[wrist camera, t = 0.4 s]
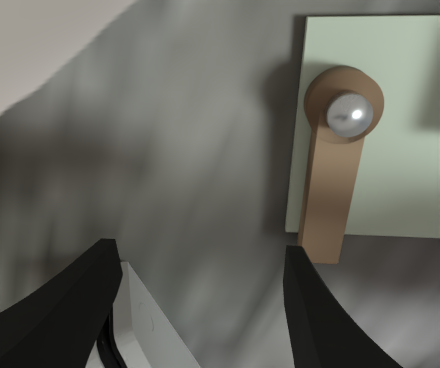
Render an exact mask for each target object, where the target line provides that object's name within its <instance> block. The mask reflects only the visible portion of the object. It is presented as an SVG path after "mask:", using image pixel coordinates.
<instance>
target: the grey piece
mask: <svg viewBox="0 0 440 368" xmlns="http://www.w3.org/2000/svg"><path fill="white" fill-rule="evenodd" d="M120 263H121V267H122V271H123V277H122V280H121V284H120V287H119V290H118V293H117V296H116V298H115V301H114V303H113V305H112V307H111V310H110V312H109V314H108V316H107V318H106V320H105V323H104V325H103V327H102V329H101V331H100V333H99V335H98V338H97V340H96V342H95V344H94V346H93V349H92V351H91V354H90V356H89V359H88V362H87V364H86V367H85V368H201V367H200V366H199V364H198V363H197V361H196V360H195V358H194V357H193V355H192V354H191V353H190V351H189V350H188V348H187V347H186V345H185V344H184V342H183V341H182V339H181V338H180V337H179V335H178V334H177V332H176V331H175V329H174V328H173V326H172V325H171V324H170V322H169V321H168V319H167V318H166V316H165V315H164V313H163V312H162V310H161V309H160V308H159V306H158V305H157V303H156V302H155V300H154V299H153V297H152V296H151V294H150V293H149V292H148V290H147V289H146V287H145V286H144V284H143V283H142V281H141V280H140V279H139V277H138V276H137V274H136V273H135V271H134V270H133V268H132V267H131V265H130V264H129V263H128V261H124V262H120Z"/></svg>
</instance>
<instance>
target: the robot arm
mask: <svg viewBox="0 0 440 368" xmlns="http://www.w3.org/2000/svg"><path fill="white" fill-rule="evenodd" d="M122 277H123V271H122V267H121V263H120V258H119V254H118V250H117V245H116V241H115V239H100V240H99V241H98V242H96V243H95V244H94V245H93V246H92V247H90V248H89V249H88V250H87V251H86V252H85V253H83V254H82V255H81V256H80V257H79V258H77V259H76V260H75V261H74V262H73V263H71V264H70V265H69V266H68V267H66V268H65V269H64V270H63V271H62V272H60V273H59V274H58V275H56V276H55V277H54V278H52V279H51V280H50V281H48V282H47V283H46V284H44V285H43V286H42V287H40V288H39V289H37V290H36V291H35V292H33V293H32V294H30V295H29V296H27V297H26V298H24V299H22V300H21V301H19V302H18V303H16V304H15V305H13V306H11V307H9V308H8V309H6V310H4V311H2V312H1V313H0V368H85V367H86V364H87V362H88V359H89V356H90V354H91V351H92V349H93V346H94V344H95V342H96V340H97V338H98V335H99V333H100V331H101V329H102V327H103V325H104V323H105V320H106V318H107V316H108V314H109V312H110V310H111V307H112V305H113V303H114V301H115V298H116V296H117V293H118V290H119V287H120V284H121V280H122ZM283 291H284V306H285V312H286V318H287V324H288V329H289V335H290V341H291V347H292V352H293V358H294V365H295V368H403V367H402V366H400V365H399V364H398V363H397V362H396V361H395V360H393V359H392V358H391V357H390V356H389V355H388V354H386V353H385V352H384V351H383V350H382V349H381V348H380V347H379V346H378V345H377V344H376V343H375V342H374V341H373V340H372V339H371V338H370V337H369V336H368V335H367V334H366V333H365V332H364V331H363V330H362V329H361V328H360V327H359V326H358V325H357V324H356V323H355V322H354V320H353V319H352V318H351V317H350V316H349V315H348V314H347V312H346V311H345V310H344V309H343V308H342V306H341V305H340V304H339V303H338V301H337V300H336V299H335V297H334V296H333V295H332V293H331V292H330V290H329V289H328V288H327V286H326V285H325V283H324V282H323V280H322V279H321V277H320V276H319V274H318V272H317V271H316V269H315V268H314V266H313V264H312V262H311V261H310V259H309V257H308V255H307V253H306V251H305V249H304V248H303V247H302V246H288V245H286V256H285V266H284V276H283Z"/></svg>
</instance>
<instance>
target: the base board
mask: <svg viewBox="0 0 440 368" xmlns="http://www.w3.org/2000/svg"><path fill="white" fill-rule="evenodd" d="M337 66H351V67H355V68H357V69H359V70H361V71H362V72H364V73H365V74H366V75H368V76H369V77H370V78H372V79H373V80H374V81H375V82H376V83H377V84H378V85H379V86H380V88H381V90H382V92H383V96H384V111H383V114H382V117H381V119H380V121H379V123H378V124H377V126H376V127H375V128H374V129H373V130H372V131H371V132H370V133H369V134H368V135H367V136H365V140H364V144H363V149H362V154H361V158H360V163H359V168H358V172H357V177H356V182H355V186H354V191H353V196H352V200H351V205H350V210H349V214H348V219H347V224H346V228H345V233H344V234H349V235H374V236H399V237H424V238H440V15H381V16H306V24H305V34H304V44H303V54H302V64H301V74H300V84H299V93H298V103H297V113H296V123H295V133H294V143H293V153H292V163H291V173H290V182H289V192H288V202H287V212H286V222H285V230H286V232H299V224H300V216H301V208H302V200H303V192H304V184H305V177H306V169H307V161H308V153H309V145H310V137H311V127H310V125H309V122H308V120H307V117H306V115H305V112H304V96H305V93H306V91H307V88H308V87H309V85H310V83H311V82H312V81H313V80H314V79H315V78H316V77H317V76H318V75H319V74H320V73H322V72H324V71H325V70H327V69H330V68H333V67H337Z"/></svg>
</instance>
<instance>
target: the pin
mask: <svg viewBox="0 0 440 368" xmlns="http://www.w3.org/2000/svg"><path fill="white" fill-rule="evenodd" d="M372 118H373V108H372V106H371V104H370V102H369V101H368V100H367V99H366V98H365V97H364V96H363V95H361V94H360V93H358V92H356V91H350V90H349V91H343V92H340V93H338V94H336V95H335V96H333V97H332V98H331V99H330V100H329V102H328V103H327V105H326V108H325V119H326V121H327V123H328V125H329V127H330V128H331V130H332V131H333V132H334V133H335V134H336V135H338V136H341V137H353V136H356V135H359V134H361V133H362V132H364V131H365V130H366V129H367V128H368V126H369V125H370V123H371V121H372Z"/></svg>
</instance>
